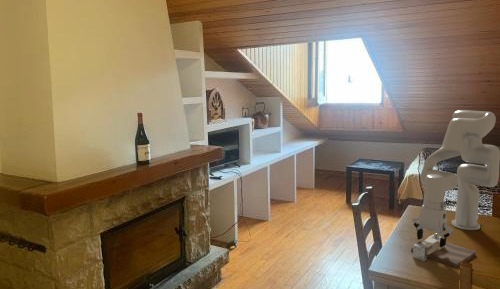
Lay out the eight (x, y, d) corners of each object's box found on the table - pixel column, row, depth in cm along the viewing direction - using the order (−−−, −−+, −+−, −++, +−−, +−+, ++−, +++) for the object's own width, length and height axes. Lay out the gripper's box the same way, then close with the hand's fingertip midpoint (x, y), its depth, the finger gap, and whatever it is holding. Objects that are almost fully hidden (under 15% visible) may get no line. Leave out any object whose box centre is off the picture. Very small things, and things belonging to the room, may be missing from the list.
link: (432, 242, 169) (433, 234, 168) (444, 246, 165) (445, 238, 164) (417, 251, 161) (417, 242, 161) (429, 255, 157) (429, 246, 157)
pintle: (434, 245, 167) (435, 232, 166) (439, 246, 165) (440, 233, 164) (432, 246, 166) (433, 233, 165) (436, 247, 164) (437, 234, 163)
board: (431, 240, 175) (431, 237, 175) (475, 254, 160) (475, 251, 160) (411, 250, 165) (411, 247, 165) (456, 267, 150) (456, 264, 150)
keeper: (420, 252, 163) (421, 240, 162) (431, 257, 159) (432, 244, 158) (412, 257, 159) (413, 244, 158) (424, 261, 156) (425, 248, 155)
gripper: (459, 207, 155) (455, 246, 158) (418, 197, 168) (416, 233, 171) (450, 211, 150) (447, 252, 153) (409, 201, 164) (407, 238, 167)
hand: (430, 242), depth 162 cm, fingers open, 9 cm apart
